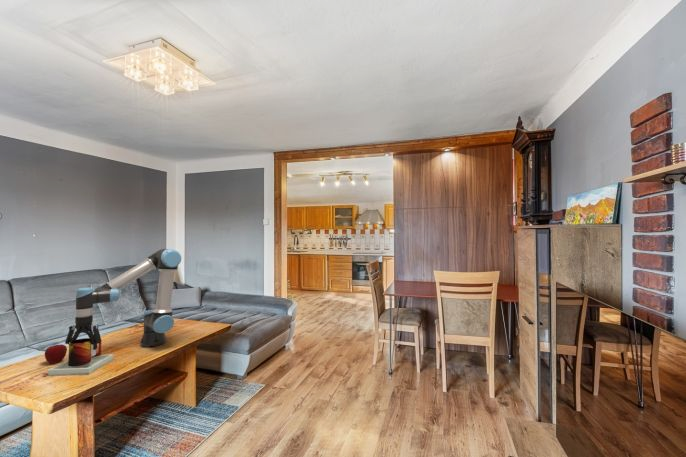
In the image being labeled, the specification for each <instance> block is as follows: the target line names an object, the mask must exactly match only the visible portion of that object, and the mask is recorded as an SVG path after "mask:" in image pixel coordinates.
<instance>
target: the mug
mask: <svg viewBox="0 0 686 457" xmlns="http://www.w3.org/2000/svg"><path fill="white" fill-rule="evenodd" d="M102 342H103V341H102V339H101V342H99V343H97V345H98V348H97V351H98V352H96V355H94V356H92V357H91V345H92V344H93V343H92V342H91V340H90V338H89V337H87V338H86V337H85V338H84V337H83V338H77V339H76V340H74V341H71V342H69V344H68V358H67V359H68V360H67V361H68V366H71V367H74V366H81V365H85V364H88V363H90V362H91V358H93V357H96V356H100V355H102Z"/></svg>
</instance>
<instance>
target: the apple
mask: <svg viewBox="0 0 686 457" xmlns="http://www.w3.org/2000/svg"><path fill="white" fill-rule="evenodd" d="M67 351H68V347H67V346H66V344H54V345H51V346H49V347H47V348H46V350H45V351H44V358H45V360H46V362H47V363H48V364H57V363H60V362H62V361H63V360H64V359H65V357H66V355H67Z"/></svg>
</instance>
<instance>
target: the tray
mask: <svg viewBox="0 0 686 457" xmlns="http://www.w3.org/2000/svg"><path fill="white" fill-rule="evenodd" d="M113 360H115V355H114V354H101V355H100V356H96V357H93V358H91V362H90V363H88V364H85V365H81V366H74V367H71V366H68V360H66V361H64V362H62V363H60V364H58V365H56V366H54V367H52V368H49V369H48V370H47V376H48V377H52V376H53V377H54V376H55V377H57V376H82V375H90V374H92V373H94V372H95V371H97V370H99V369H100V368H102V367H104V366H105V365H107V364H108V363H110V362H112V361H113Z"/></svg>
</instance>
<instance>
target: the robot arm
mask: <svg viewBox="0 0 686 457" xmlns="http://www.w3.org/2000/svg"><path fill="white" fill-rule="evenodd" d="M181 262H182V255H181V254H180V252H179V251H177V250H176V249H171V248H161V249H159V250H157V251H155V252H154V253H152V254H150V255H149V256H147V257H146V258H145V260H144V261H142V262H140V263H138V264H137V265H135V266H132V267H131V268H130V269H128V270H127V271H125V272H123V273H122V274H120V275H118V276H116V277H115V278H113V279H111V280H109V281H108V282H106V283H104V284H103V285H100V286H97V287H95V288H94V287H90V286H89V287H80V288H78V289H76V292H75V293H76V294H75V295H76V296H75V314H74V315H75V318H74V320H75V321H74V323H75V325H74V324H73V325H70V326H68V333H67V335H66V339H65V341H64V345H69V342H71V341H74V340H77V339H79V336H80V334H82V333H83V334H86V335H87V336H88V338H90V340H91V342H92V343H93V344H92V345H91V357H92V356H94V355H96V353H97V350H98V344H99V342H101V343H102V341H101V340H102V338H101V334H100V331H99V324H93V321H94V320H93V319H94V315H93V314H94V311H93V310H94V305H98V304H104V303H105V304H106V303H113V302H117V301H119V298H120V290H121V289H122V288H124V287H126V286H128V285H129V284H131V283H132V282H134V281H136V280H137V279H139V278H141V277H142V276H144V275H146V274H147V273H149V272H150V271H153V270H158V271H159V277H158V283H157V284H158V286H157V294H156V300H155V301H156V302H155V309H149V310H145V311H144V313H143V334H142V337H141V339H140V341H139V342H140V343H139V344H140V347H141V346H142V347H141V348H151V347H150V346H154V347H158V346H157V345H159V346H161V344H162V345H164V344H166V343H167V337H166V334H165V333H167V332H169V331H170V330H171V329H172V328H173V327H174V325H175V319H174V317H173V310H172V307H171V306H172V298H173V289H174V281H175V272H177V271H178V267H179V265H180V264H181ZM165 342H166V343H165ZM97 343H98V344H97ZM163 343H164V344H163Z"/></svg>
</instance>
